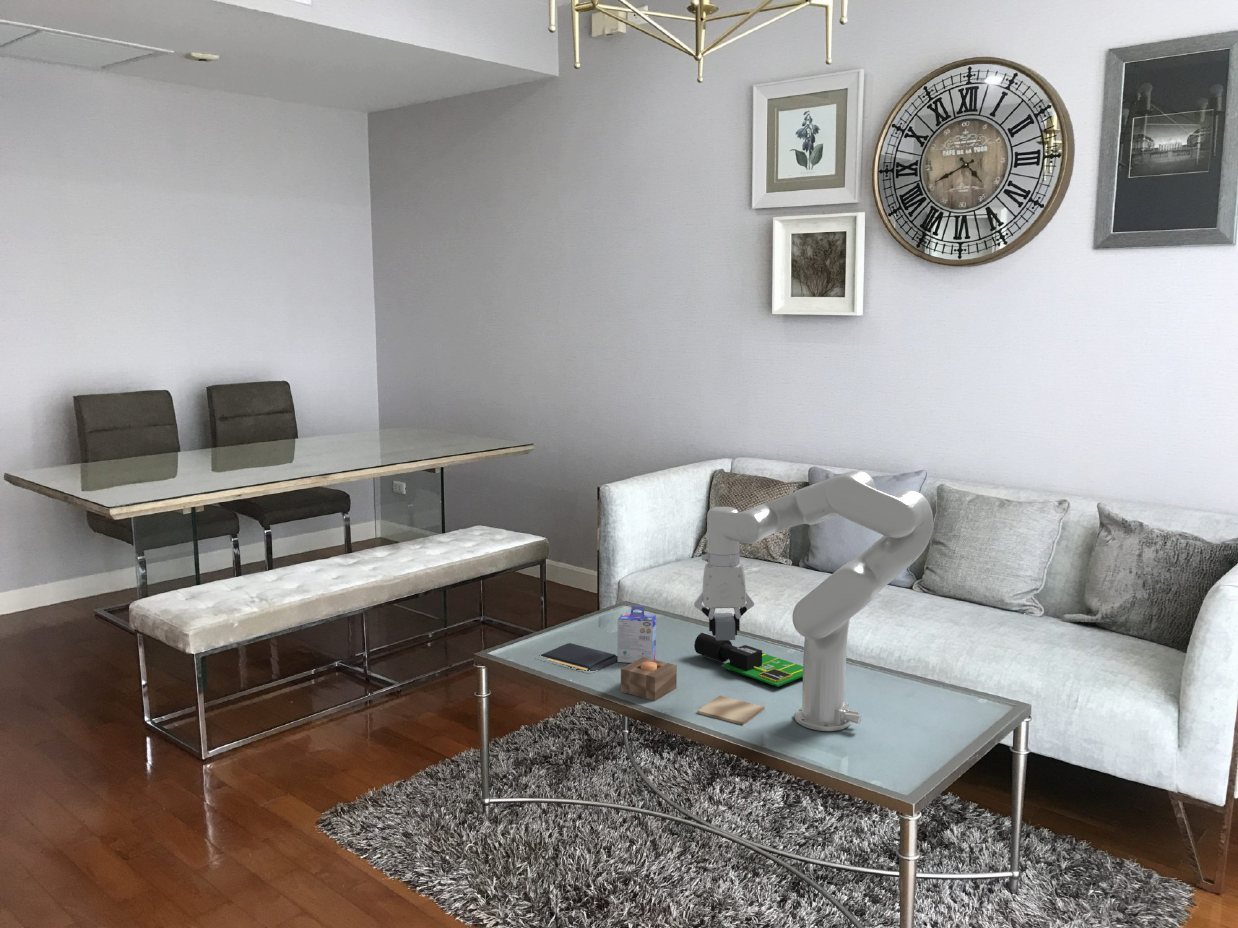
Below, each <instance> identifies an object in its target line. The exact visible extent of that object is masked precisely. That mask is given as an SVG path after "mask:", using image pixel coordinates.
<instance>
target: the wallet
mask: <svg viewBox="0 0 1238 928" xmlns="http://www.w3.org/2000/svg"><path fill="white" fill-rule="evenodd" d="M540 655H541V656H543V657H546V658H550V659H547V660H551V661H553V662H556V663H560V664H562V665H566V666H568V667H570V668H572V667H573V668H577V669H576V670H575V671H577V670H584V671H586V670H587V671H589V670H590V671H596V670H598V671H600V670H603V669H605V668H607V667H609V666H611V665H614V664H616V663H618V662H617V661H618V655H616V654H614V653H610V652H608V651H602V650H599V649H595V648H592V647H588V646H584V645H579V644H575V643H572V642H568V643H565V644H562V645H560V646H558V647H556V648H553V649H552V650H549V651H546V652H544V653H542V654H540ZM602 668H603V669H602ZM596 672H597V671H596Z"/></svg>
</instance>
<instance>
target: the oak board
mask: <svg viewBox="0 0 1238 928" xmlns="http://www.w3.org/2000/svg"><path fill="white" fill-rule="evenodd" d="M764 710H765V706H763V705H759V704H754V703H752V702H747V701H744V700H739V699H735V698H731V697H728V696H727V697H726V696H723V695H718V696H717V697H715V698H714V699H712V700H711V701H709V702H708V703H706V704H705V705H703V706H701V707H700V708H699V709H697V710H696V713H697V714H699V715H703V716H707V717H712V718H715V719H719V720H722V721H727V722H731V723H734V724H737V725H742V726H744V725H745V724H747V722H749V721H750V720H752V719H753V718H755V717H756V716H757V715H759V714H760V713H761V712H763V711H764Z"/></svg>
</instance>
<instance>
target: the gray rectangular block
mask: <svg viewBox="0 0 1238 928" xmlns="http://www.w3.org/2000/svg"><path fill="white" fill-rule="evenodd" d="M733 616H734V613H732V612H719V613H717V612H715V613H714V617H715V638H716V640H729V641H736V635H735V620H734V617H733Z"/></svg>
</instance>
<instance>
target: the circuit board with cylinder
mask: <svg viewBox="0 0 1238 928" xmlns="http://www.w3.org/2000/svg"><path fill="white" fill-rule="evenodd" d="M693 644H694V651H695V652H696V654H699V655H700V656H703V657H706V658H709V659H712V660H715V661H717V662H721V663H724V664H721V668H724V669H726V670H729V672H730V673H733V674H736V675H739V676H742V677H745V678H749V677H750V678H752V679H755V680H757V681H761V682H763V683H767V684H769V685H772V686H774V687H777V688H778V687H780V686H783V685H787V683H791V682H794V681H796V680H798V679H801V678H803V665H800V664H797V663H794V662H792V661H788V660H785V659H782V658H780V657H776V656H773V655H771V654H768V653H764V652H763V650H762V649H759V648H756V647H753V646H750V645H747V644H743V645H741V646H736V645H733V643H732V641H731V640H716V638H715V636H713V635H712V633H709V632H708V633H707V632H705V631H704V632H703V631H702V632H700V633H698V635H697V636H696V638H695V641H694V643H693ZM728 660H729V662H728ZM726 662H727V663H726Z"/></svg>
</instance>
